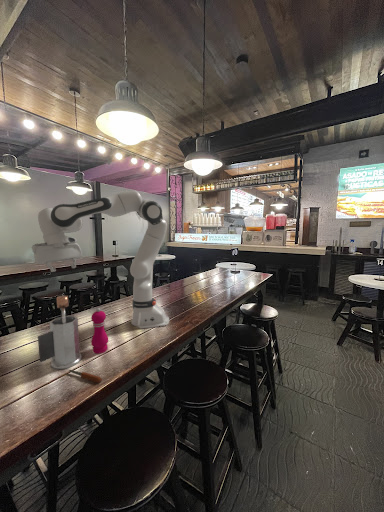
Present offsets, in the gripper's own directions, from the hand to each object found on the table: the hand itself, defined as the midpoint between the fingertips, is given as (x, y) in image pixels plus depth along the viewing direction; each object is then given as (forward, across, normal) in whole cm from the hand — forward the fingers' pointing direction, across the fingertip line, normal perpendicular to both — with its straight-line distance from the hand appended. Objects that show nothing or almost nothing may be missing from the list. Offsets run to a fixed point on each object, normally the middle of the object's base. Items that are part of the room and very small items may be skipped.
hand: (64, 269), depth 102 cm
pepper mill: (+41, +2, -5) cm, 41 cm away
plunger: (+37, -11, -2) cm, 39 cm away
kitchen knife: (+45, -13, -16) cm, 49 cm away
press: (+39, -12, -2) cm, 41 cm away
